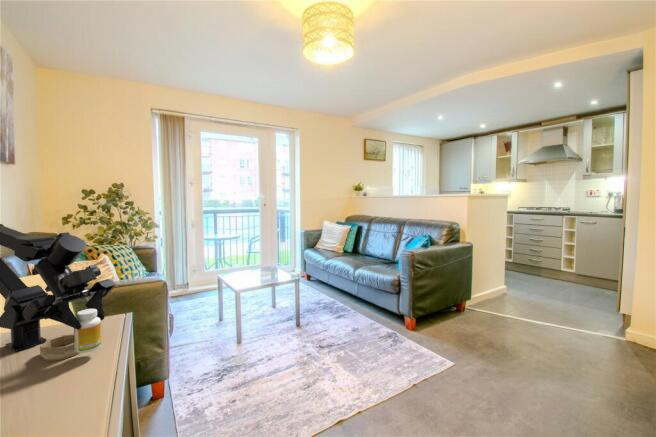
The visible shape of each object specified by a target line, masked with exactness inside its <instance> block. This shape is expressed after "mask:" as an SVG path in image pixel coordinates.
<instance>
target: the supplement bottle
mask: <svg viewBox="0 0 656 437" xmlns="http://www.w3.org/2000/svg"><path fill="white" fill-rule="evenodd" d="M96 316H97V309H88V308H86V309H82V310H80V311H79V310H78V311H77V313H76V318H77V319H78V321H79V323H80V325H81V328H80V329H79V330H77V329H75V328H73V334H74V350H75V352H77V353H79V354H84V353H85V354H86V353H89V352H90V353H91V352H93V351H96V350H97V349H99V348H100V347H101V346H102V325H101V324H102V323H101V322H102V321H101V320H100V318H99V317H96Z"/></svg>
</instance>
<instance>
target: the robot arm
mask: <svg viewBox="0 0 656 437" xmlns="http://www.w3.org/2000/svg"><path fill="white" fill-rule="evenodd" d="M0 246H1V247H4V248H7V249H9V250H12V251H13V255H14V256H15V257H17V258H18V259H20V260H21V261H22V262H27V263H28V262H33V261H38V262H37V263H36V264H34V266H33V269H32V270H31V275H32V276H36V275H37V276H38V275H39V276H40V278H41V279H42V281H43V282H44V283H45V284H46V287H45V288H44V289H43V287H42V286H40V285H39V284H37V285H32V286H27V285H26V283H25V282H24V281H23V280H22V279H21V278H20V277H19V276H18V275H17V274H16V273H15V271H13V270H12V269H11V268H10V266H8V264H7V263H6V262H5V261H4V260H3V259H2V258H1V257H0V295H1V297H2V298H3V299H4V300H5V301H4V306H3V312H2V314H1V315H0V328H2V329H7V330H10V342H8V343H6V344H5V347H6V348H8V349H10V350H12V351H14V352H19V351H21V350H25V349H28V348H31V347H34V346H37V345H39V344H43V343H45V342H46V341H47V340H48V339H46V338H44V337H42V335H41V320H43V319H44V320H52V321H55V322H58V323H61V324H64V325H66V326H68V327H71V328H73V329H74V328H75V329H77V330H79V329H80V328H81V325H80V323H79V321H78V319H77V316H76V315H75V313H73V311H72V309H71V308H70V303H71V302H72V303H73V302H75V301H79V300H82V299H85V300H86V301H87V302H86V303H85V304H84V306H85V308H86V309H97V316H96V317H99V318H100V320H101V322H102V321H104V319H105V314H104V313H105V312H104V306H103V299H104V298H105V297H107V296H108V295H109V294H110V292H111V291H112V290H113V289H114V288H115V287H116V283H115V282H114V280H112V279H109V278H106V279H103V280H100V281H99V280H98V281H95V280H97V278H98V277H99V276H101V274H102V271H101V269H100V267H99V266H98V265H97V264H91V265H88V266H86V267H85V269H80V270H79V269H78V270H72V269H71V268H70V265H72V264H74V263H75V262H76V261H77V259H78V258H79V257H80V256H81V254H82V253H83V252H84V251H85V249H86V248H87V242H86V241H85V240H84V239H81V238H80V237H79V236H76V235H73V234H72V235H71V233H70V232H67V231H66V232H59V233H58V235H57V237H56V238H54V237H53V236H48V235H47V236H46V235H30V234H26V233H24V232H21V231H19V230H16V229H13V228H10V227H8V226H5V225H4V224H3V223H0ZM91 281H95V283H94V284H93V285H91V286H92V287H90V288H87V287H88V286H89V285H90V282H91ZM86 288H87V289H86ZM49 292H50V293H51V294H49Z"/></svg>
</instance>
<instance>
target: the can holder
mask: <svg viewBox="0 0 656 437" xmlns="http://www.w3.org/2000/svg"><path fill="white" fill-rule="evenodd" d="M79 354H80V353H77V352H75V350H74V333H68V334H62V335H59V336H55V337H53V338H50V339H47V341H46V342H43V343H41V345H40V346H39V357H41V358H42V360H43V361H46V362H55V361H57V362H58V361H63V360H66V359H70V358H72V357H75V356H77V355H79Z"/></svg>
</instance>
